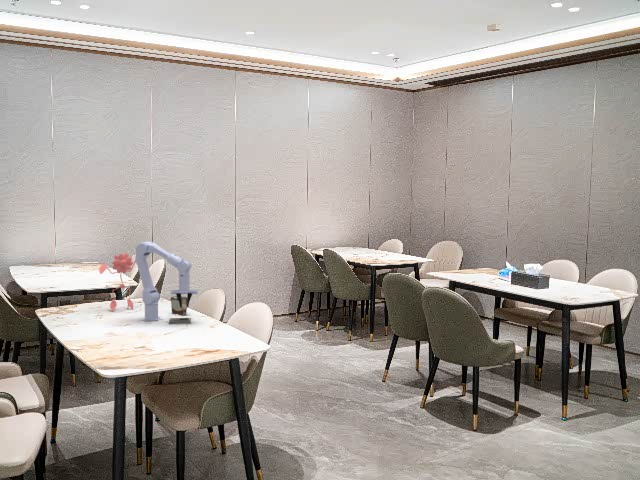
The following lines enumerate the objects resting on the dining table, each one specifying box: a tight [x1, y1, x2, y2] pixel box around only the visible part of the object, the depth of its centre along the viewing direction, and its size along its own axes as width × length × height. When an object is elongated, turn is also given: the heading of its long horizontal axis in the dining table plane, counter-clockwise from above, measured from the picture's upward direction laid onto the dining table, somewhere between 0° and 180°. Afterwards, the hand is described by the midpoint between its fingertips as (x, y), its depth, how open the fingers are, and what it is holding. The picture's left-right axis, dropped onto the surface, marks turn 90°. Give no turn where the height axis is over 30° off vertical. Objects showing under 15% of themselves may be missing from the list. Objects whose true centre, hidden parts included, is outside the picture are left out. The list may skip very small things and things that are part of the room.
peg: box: [181, 298, 188, 310], centre depth 346 cm, size 3×3×6 cm
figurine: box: [98, 252, 141, 314], centre depth 372 cm, size 15×26×35 cm, turn 122°
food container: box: [169, 295, 188, 317], centre depth 368 cm, size 12×6×10 cm, turn 58°
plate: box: [168, 317, 192, 325], centre depth 346 cm, size 8×12×2 cm
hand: (184, 306), depth 346 cm, fingers closed on peg, 3 cm apart
